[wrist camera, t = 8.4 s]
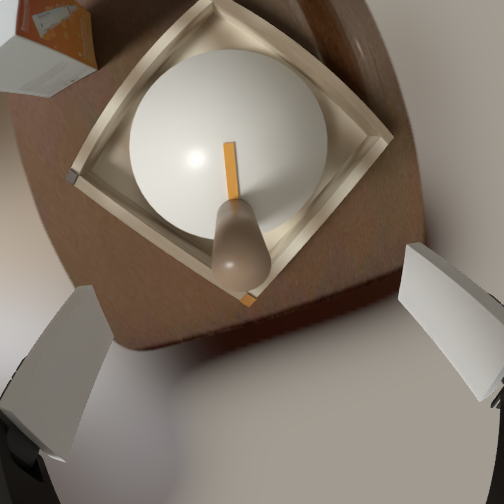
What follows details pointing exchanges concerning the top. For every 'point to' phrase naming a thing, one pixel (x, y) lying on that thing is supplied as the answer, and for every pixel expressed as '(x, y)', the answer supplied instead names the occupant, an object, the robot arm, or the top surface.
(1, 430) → the robot arm
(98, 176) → the dial housing
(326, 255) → the top surface
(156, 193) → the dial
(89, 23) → the small box
